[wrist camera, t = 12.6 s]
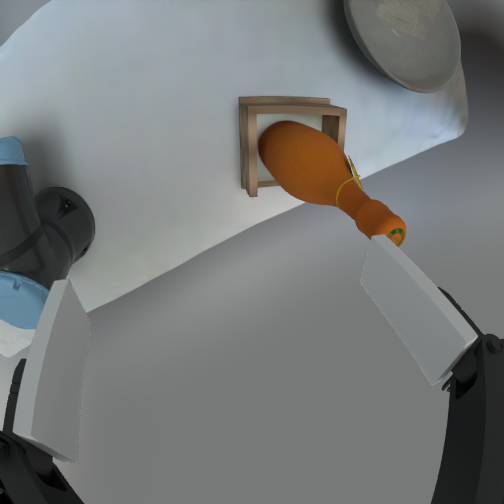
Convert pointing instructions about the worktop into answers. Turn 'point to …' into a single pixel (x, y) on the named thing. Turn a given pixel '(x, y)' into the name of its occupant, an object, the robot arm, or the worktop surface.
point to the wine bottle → (324, 177)
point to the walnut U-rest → (274, 110)
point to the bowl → (407, 40)
